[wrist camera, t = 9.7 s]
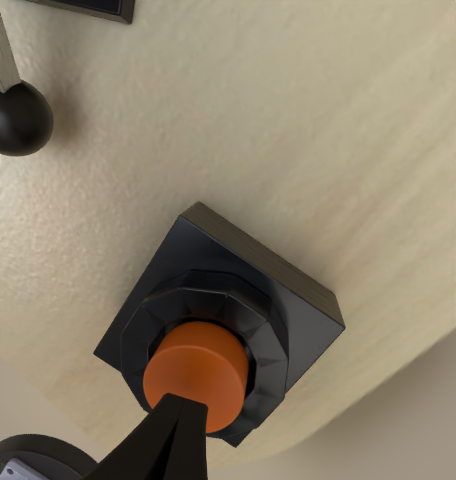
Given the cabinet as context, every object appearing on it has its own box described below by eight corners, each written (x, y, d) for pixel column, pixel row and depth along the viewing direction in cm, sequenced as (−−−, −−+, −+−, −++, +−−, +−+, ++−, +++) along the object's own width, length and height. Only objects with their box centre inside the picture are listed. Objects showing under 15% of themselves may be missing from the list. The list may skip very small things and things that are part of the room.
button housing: (243, 400, 20) (230, 484, 15) (122, 320, 19) (69, 379, 15) (335, 294, 17) (355, 354, 13) (198, 200, 17) (164, 225, 12)
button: (216, 415, 15) (207, 451, 13) (143, 367, 14) (124, 396, 13) (267, 355, 13) (265, 386, 12) (188, 302, 13) (174, 326, 12)
